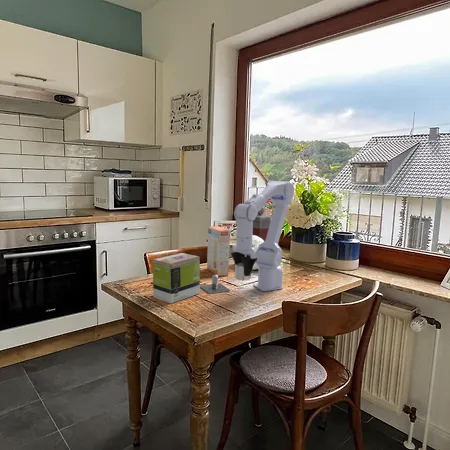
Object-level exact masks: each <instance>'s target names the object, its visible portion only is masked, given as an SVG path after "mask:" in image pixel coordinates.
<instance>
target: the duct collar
mask: <svg viewBox="0 0 450 450" xmlns="http://www.w3.org/2000/svg"><path fill="white" fill-rule="evenodd" d="M251 278H252V274H251V275H250V276H245V275H244V266H243V263H236V264H235V263H234V279H236V280H239V281H250V280H251Z"/></svg>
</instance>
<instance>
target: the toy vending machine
mask: <svg viewBox="0 0 450 450" xmlns="http://www.w3.org/2000/svg"><path fill="white" fill-rule="evenodd" d="M264 211H265V208H264V207H263V208H262V209H261V210H259V211H258V214H257V216H256V218H255V220H253V234H252V235H254V236H258V237H259V238H261V239H263V241H264V242H265V240H266V237H267V233H268V230H269V226H270V223H271V219H272V216H271V215H266V214H264Z"/></svg>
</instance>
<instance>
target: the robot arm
mask: <svg viewBox="0 0 450 450" xmlns="http://www.w3.org/2000/svg"><path fill="white" fill-rule="evenodd" d="M294 193H295V187H294V184H293V182H292V181H279V180H278V181H277V180H269V181H268V182H267V183H266V185H265V188H264V189H263V190H262V191H261V192H260V193H253V194H252V196H251V197H250V198H248V200H246V201H245V202H244V203H239V204H238V205H236V207H235V208H234V211H233V216H234V218H235V224H236V242H235V243H236V244H234V245H232V246H231V247H232V250H231V251H233V252H231V253H230V254H231V255H230V256H231V257H232V259H233V263H234V265H235V264H236V263H243V266H244V275H245V276H250V275H251V276H252V271H253V270H252V268H253V265H254V263H255V262H256V263H257V266H259V268H258V269H257V270H258V273H257V283H254V284H253V287H255V288H256V289H259V290H260V291H262V292H269V291H274V290H282V289H283V269H282V267H281V266H280V265H281V263H282V258H283V257H282V254H283V249H282V248H281V247H280V245H279V242H280V237H281V233H282V230H283V226H284V223H285V219H286V215H287V212H288V208H289V205H290V204H291V203H292V200H293V197H294ZM268 200H270V202H271V203H273V204H274V209H273V212H272V216H271V223H270V226H269V230H268V233H267V237H266V240H265V242H263V243H261V244H260V245H259V247H258V249H257V251H256V252H254V251H253V249H252V234H253V220H255V218H256V216H257V214H258V211H259V210H261V209H262V208H263V209H264V207H265V206H266V202H267V201H268ZM245 255H246V257H245Z"/></svg>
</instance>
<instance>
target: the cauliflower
mask: <svg viewBox="0 0 450 450" xmlns="http://www.w3.org/2000/svg"><path fill="white" fill-rule="evenodd" d="M263 242H264V241H263V239H261V238H259V237H258V236H254V235H252V249H253V251H254V252H256V251H257V249H258V247H259V245H260V244H261V243H263ZM245 257H246V255H245ZM258 268H259V266H257V263H256V262H255V263H254V265H253V268H252V271H256V270H258Z"/></svg>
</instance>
